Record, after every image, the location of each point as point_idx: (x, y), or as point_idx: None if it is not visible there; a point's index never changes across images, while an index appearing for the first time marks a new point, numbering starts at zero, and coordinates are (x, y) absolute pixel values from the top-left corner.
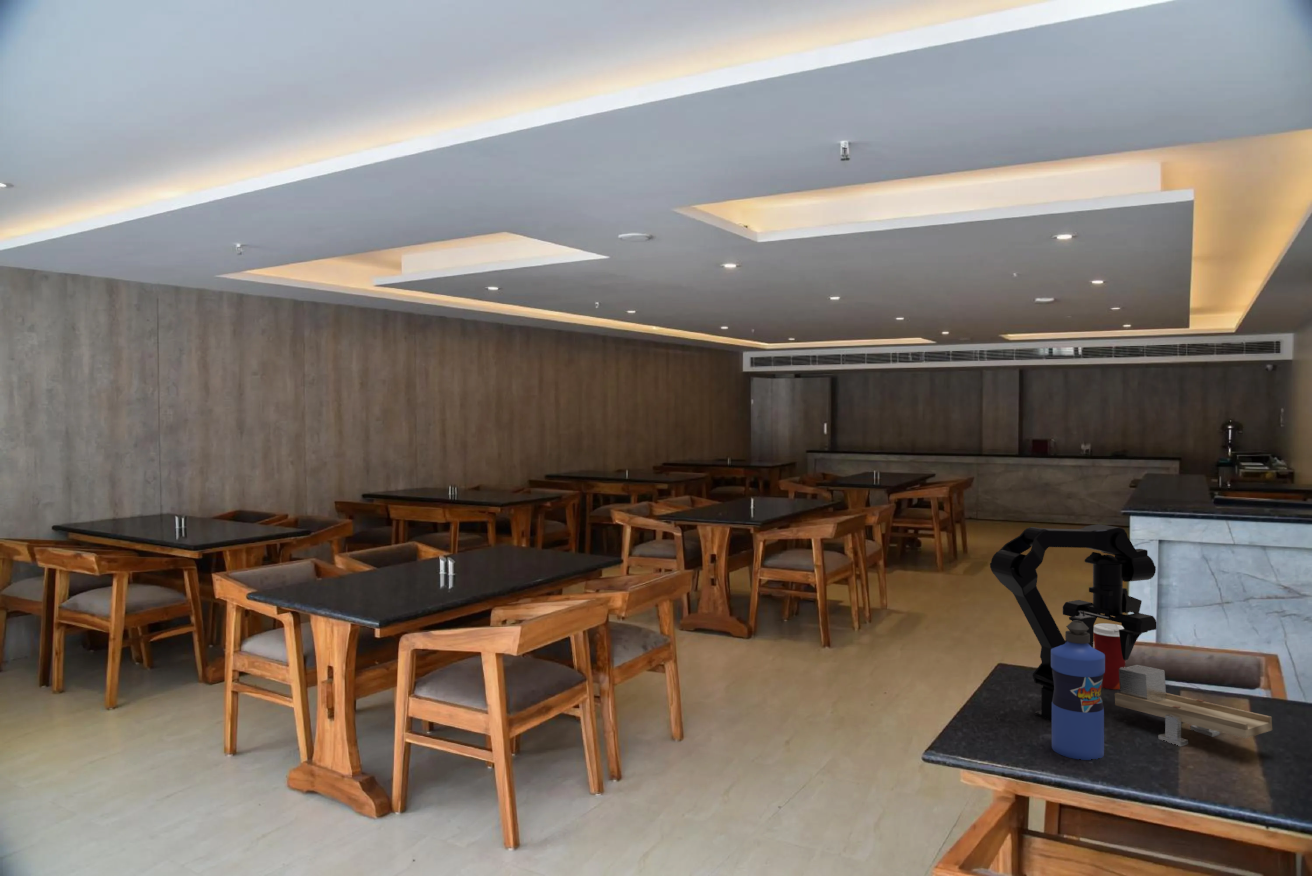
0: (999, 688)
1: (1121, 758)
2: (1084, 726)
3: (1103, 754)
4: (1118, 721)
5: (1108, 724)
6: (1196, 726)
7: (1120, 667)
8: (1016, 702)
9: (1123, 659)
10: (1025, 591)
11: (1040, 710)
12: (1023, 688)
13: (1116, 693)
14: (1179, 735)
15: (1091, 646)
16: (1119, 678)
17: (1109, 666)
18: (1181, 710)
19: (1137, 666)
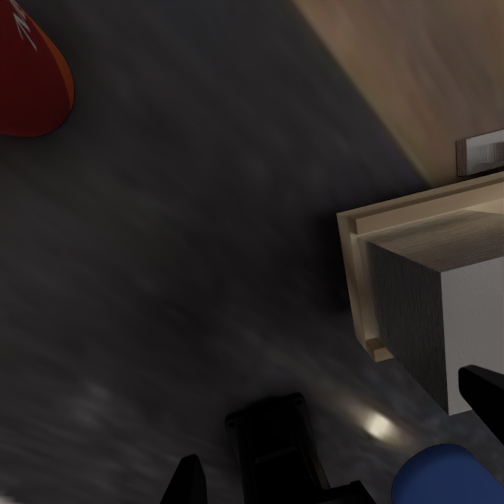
0: (7, 473)
1: (490, 430)
2: None
3: (472, 455)
4: (344, 313)
5: (351, 349)
6: (477, 162)
7: (19, 33)
8: (145, 477)
9: (463, 396)
10: None
11: (238, 465)
12: (15, 409)
13: (380, 358)
14: None
15: (198, 492)
16: (416, 379)
17: (3, 98)
18: None
19: (470, 301)
